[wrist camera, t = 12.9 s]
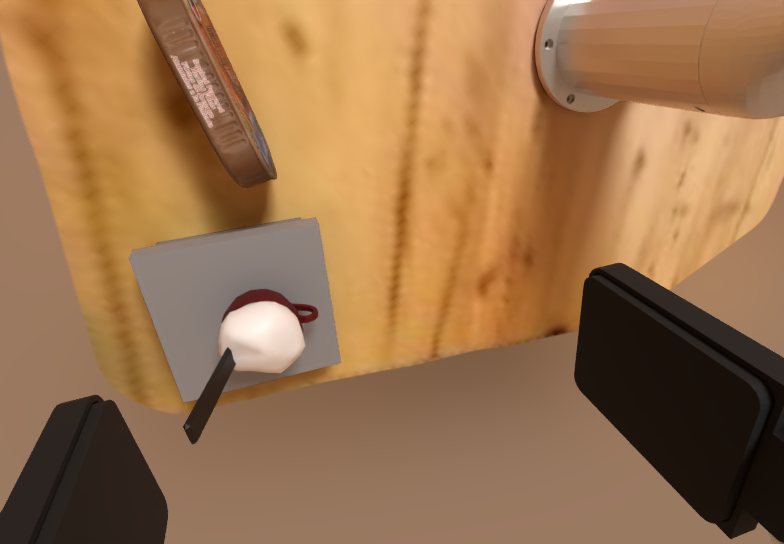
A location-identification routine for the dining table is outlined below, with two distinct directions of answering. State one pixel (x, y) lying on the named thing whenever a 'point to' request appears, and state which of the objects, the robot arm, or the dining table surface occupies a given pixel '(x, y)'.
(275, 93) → the dining table surface
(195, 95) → the tin
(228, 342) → the cocoa
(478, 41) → the dining table surface
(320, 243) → the stand
